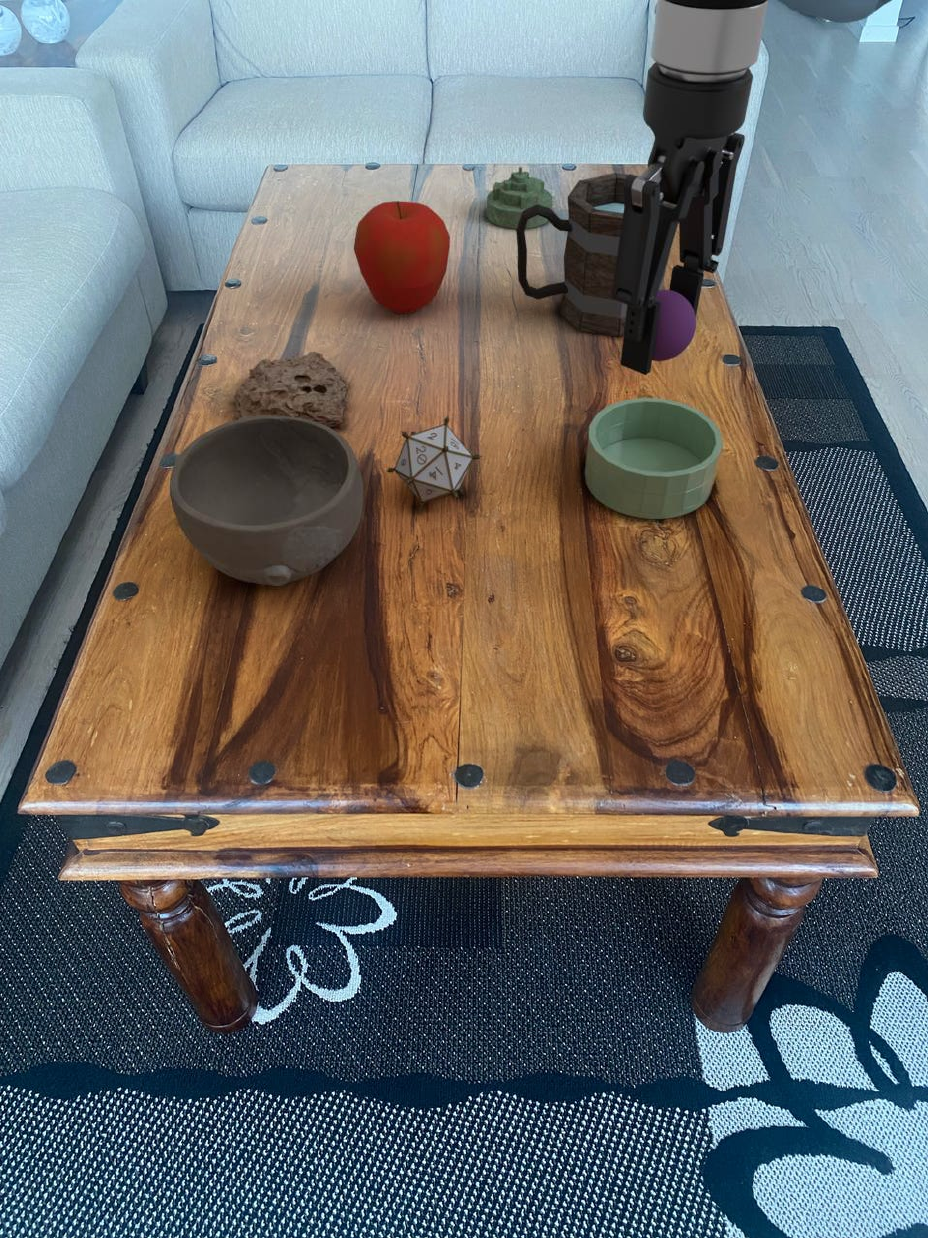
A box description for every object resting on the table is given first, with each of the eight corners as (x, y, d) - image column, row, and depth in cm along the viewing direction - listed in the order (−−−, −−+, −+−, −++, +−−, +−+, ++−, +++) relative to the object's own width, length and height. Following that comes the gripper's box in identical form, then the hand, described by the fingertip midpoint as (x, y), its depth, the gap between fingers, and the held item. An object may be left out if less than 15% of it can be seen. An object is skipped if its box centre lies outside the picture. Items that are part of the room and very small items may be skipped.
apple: (378, 338, 118) (368, 229, 107) (347, 297, 125) (335, 191, 115) (466, 317, 121) (464, 209, 111) (431, 278, 129) (426, 174, 118)
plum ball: (702, 354, 83) (715, 291, 79) (665, 381, 80) (676, 318, 76) (647, 331, 86) (656, 270, 82) (609, 357, 83) (616, 295, 79)
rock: (344, 433, 104) (341, 405, 101) (227, 433, 104) (220, 405, 101) (357, 362, 114) (354, 334, 111) (250, 362, 114) (244, 335, 111)
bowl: (325, 627, 83) (311, 545, 76) (154, 585, 87) (125, 503, 80) (395, 510, 94) (388, 428, 87) (240, 477, 98) (221, 397, 91)
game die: (451, 528, 98) (479, 502, 88) (374, 506, 96) (394, 477, 86) (467, 451, 100) (496, 417, 90) (392, 428, 98) (414, 391, 88)
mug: (652, 284, 127) (668, 171, 116) (671, 335, 117) (691, 217, 106) (509, 288, 126) (512, 175, 115) (517, 340, 117) (521, 222, 106)
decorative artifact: (565, 215, 142) (521, 195, 147) (568, 168, 137) (522, 149, 142) (516, 234, 138) (473, 213, 143) (517, 186, 132) (473, 166, 138)
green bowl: (736, 474, 98) (747, 431, 94) (665, 537, 91) (674, 494, 87) (632, 425, 104) (638, 383, 100) (558, 481, 97) (562, 438, 93)
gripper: (725, 25, 73) (678, 300, 89) (580, 87, 63) (558, 381, 80) (812, 43, 69) (747, 326, 86) (672, 112, 60) (630, 414, 76)
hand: (656, 352), depth 83 cm, fingers closed on plum ball, 6 cm apart
